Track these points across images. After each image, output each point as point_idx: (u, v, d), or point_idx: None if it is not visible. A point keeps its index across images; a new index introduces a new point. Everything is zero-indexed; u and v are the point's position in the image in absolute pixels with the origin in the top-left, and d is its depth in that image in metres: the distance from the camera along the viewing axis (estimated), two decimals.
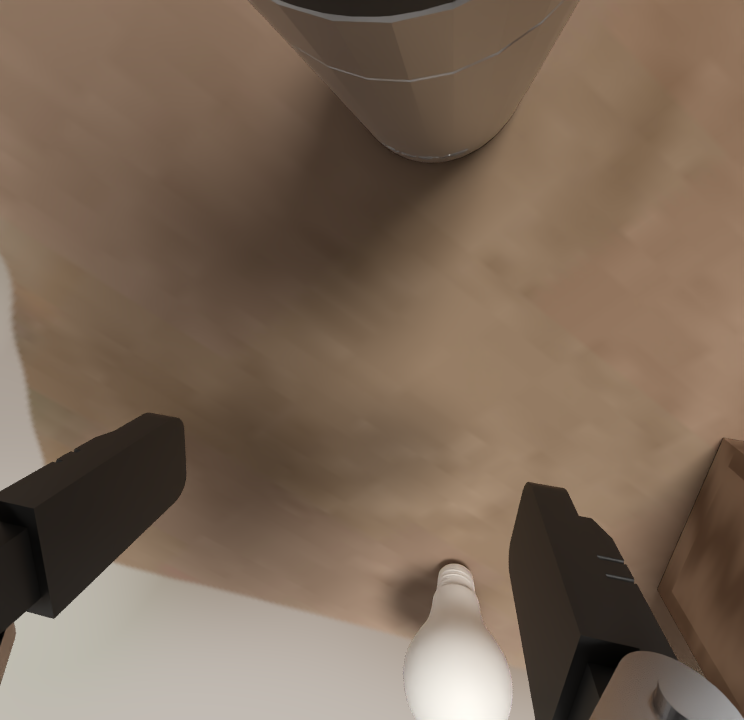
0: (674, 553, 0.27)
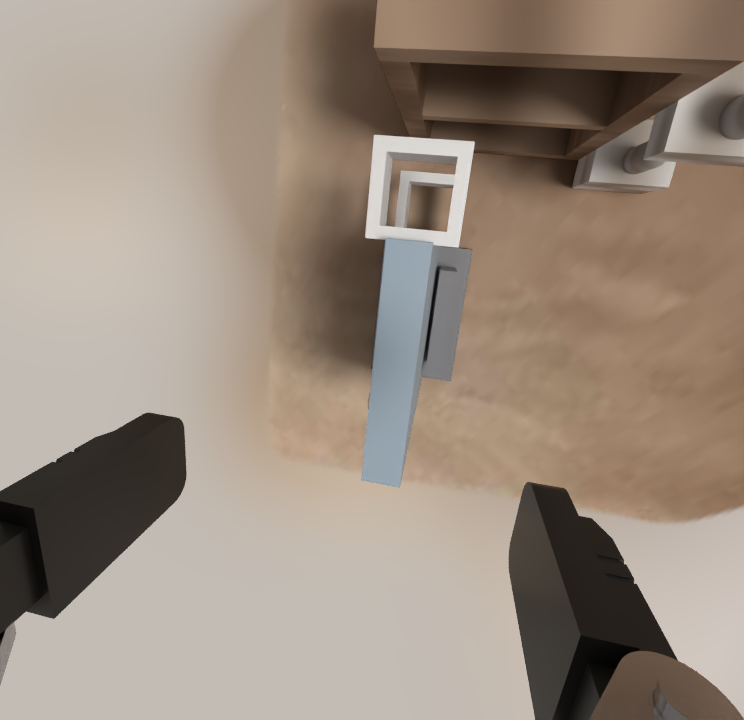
0: None
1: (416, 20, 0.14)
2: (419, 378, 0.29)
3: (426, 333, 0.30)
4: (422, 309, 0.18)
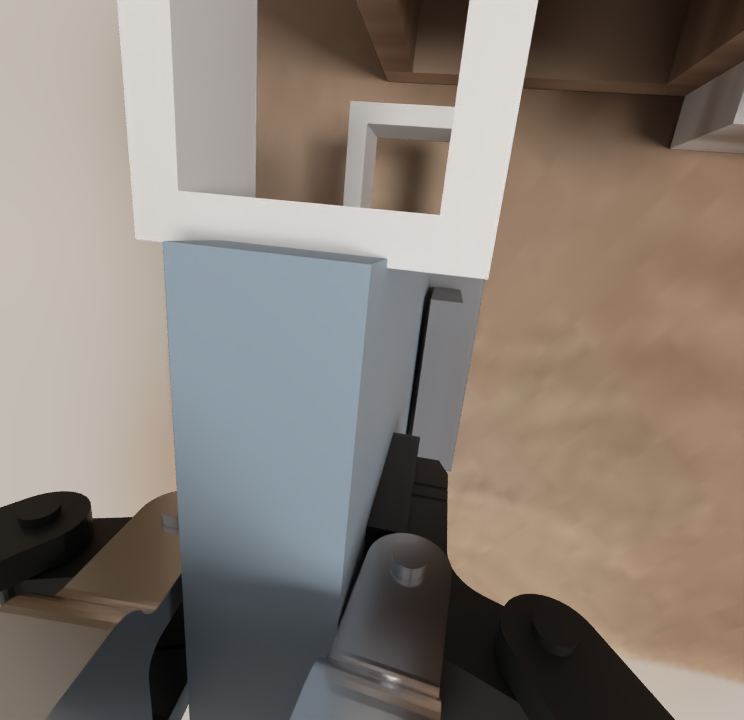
0: None
1: None
2: None
3: (406, 415, 0.16)
4: (341, 531, 0.04)
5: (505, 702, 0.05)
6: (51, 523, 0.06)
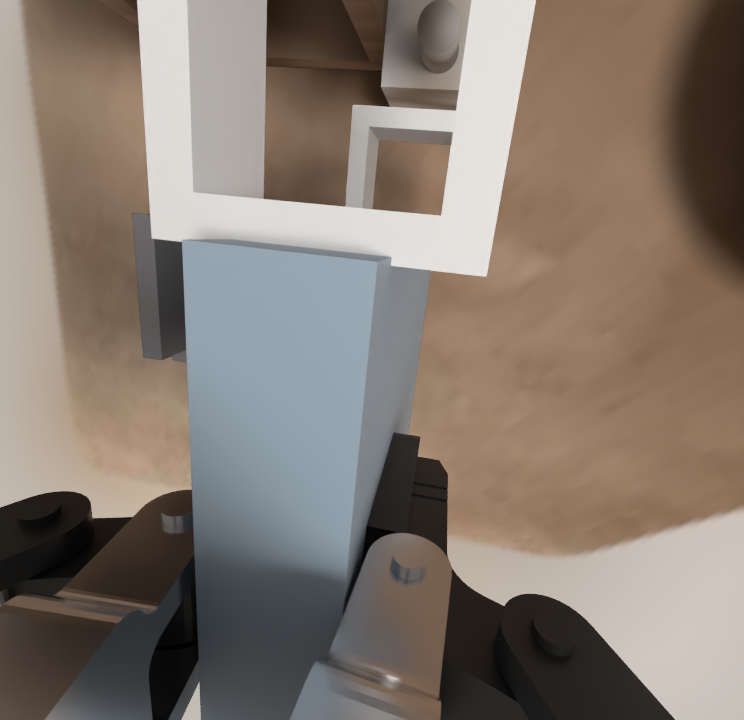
0: None
1: None
2: None
3: (407, 413, 0.16)
4: (347, 514, 0.05)
5: (505, 702, 0.05)
6: (51, 523, 0.06)
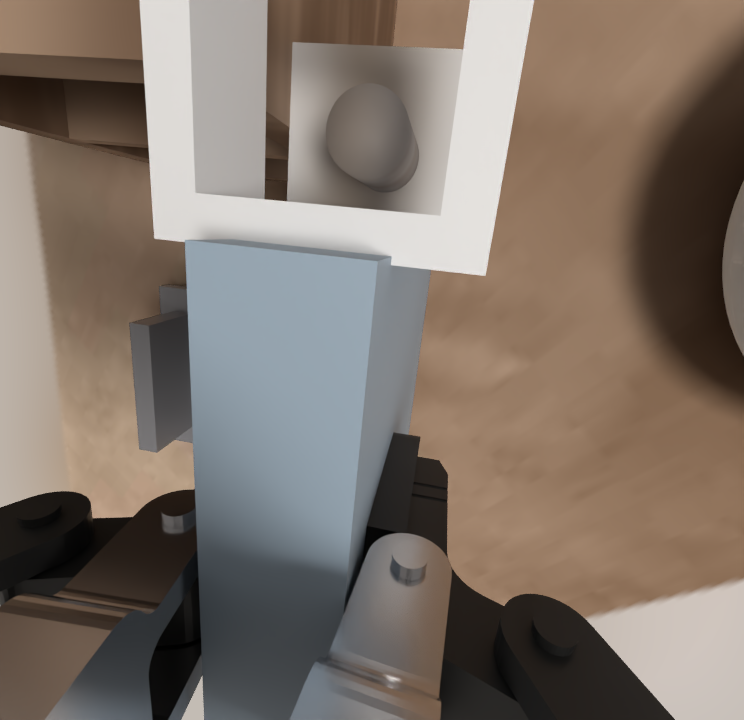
0: None
1: None
2: None
3: (407, 412, 0.16)
4: (348, 510, 0.05)
5: (505, 702, 0.05)
6: (51, 523, 0.06)
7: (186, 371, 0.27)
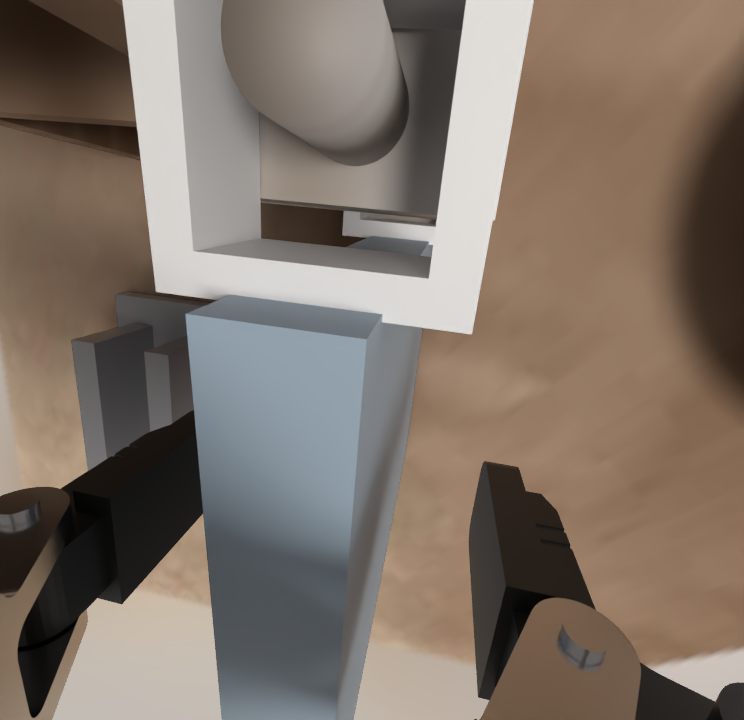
0: None
1: None
2: (394, 491, 0.16)
3: (408, 405, 0.17)
4: (344, 549, 0.05)
5: None
6: None
7: None
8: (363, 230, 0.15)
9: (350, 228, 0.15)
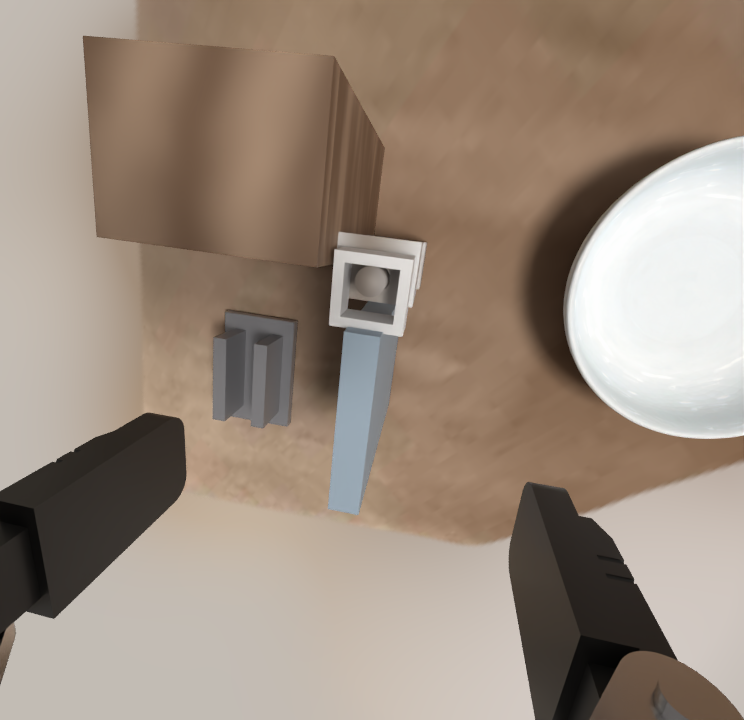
0: None
1: (121, 223, 0.21)
2: (382, 411, 0.34)
3: (389, 371, 0.35)
4: (373, 385, 0.23)
5: None
6: None
7: (241, 368, 0.41)
8: None
9: None
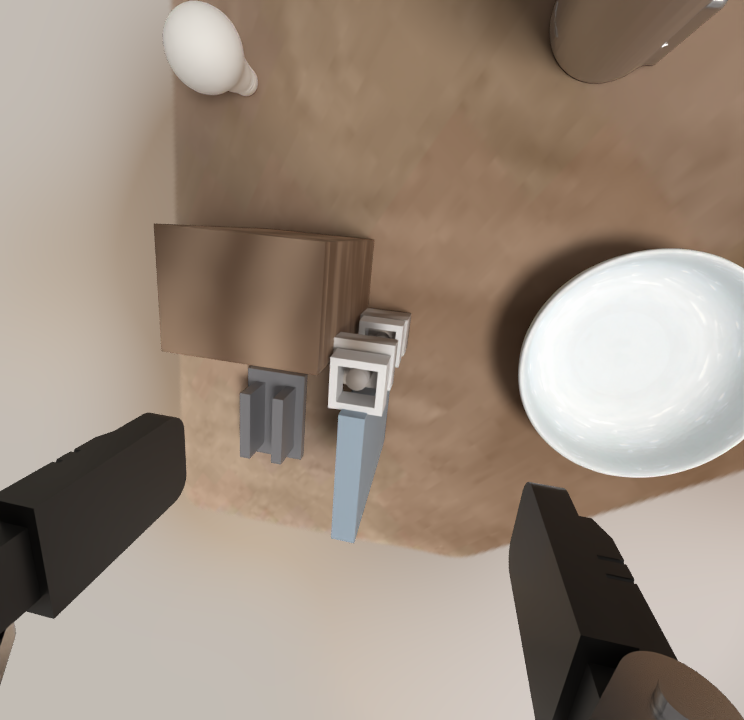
0: (294, 231, 0.44)
1: (179, 343, 0.30)
2: (375, 454, 0.42)
3: (381, 421, 0.43)
4: (361, 451, 0.31)
5: None
6: None
7: (262, 414, 0.49)
8: None
9: None
